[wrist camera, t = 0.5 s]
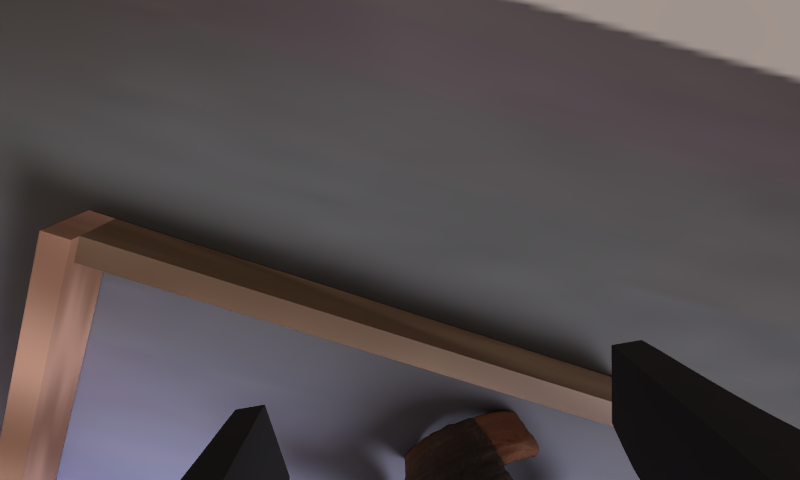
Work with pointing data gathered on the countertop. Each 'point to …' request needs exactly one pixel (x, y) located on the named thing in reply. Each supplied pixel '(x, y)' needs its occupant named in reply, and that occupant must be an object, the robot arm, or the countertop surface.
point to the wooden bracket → (244, 293)
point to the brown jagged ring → (472, 449)
